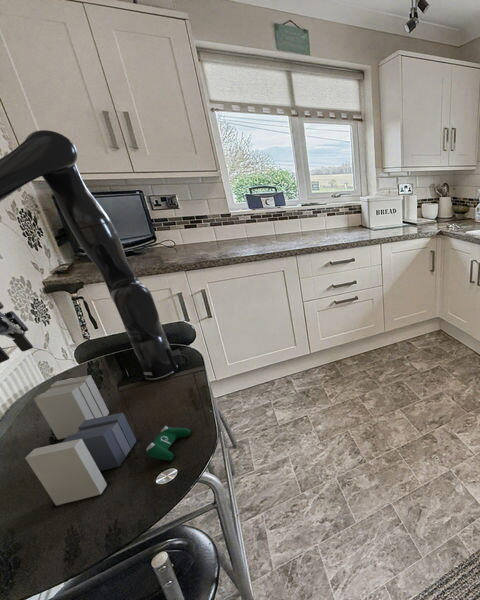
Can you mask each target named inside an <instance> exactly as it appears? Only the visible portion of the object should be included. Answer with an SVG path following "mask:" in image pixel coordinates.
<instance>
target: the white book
mask: <svg viewBox="0 0 480 600" xmlns="http://www.w3.org/2000/svg"><path fill="white" fill-rule="evenodd" d="M62 442H63V441H62ZM62 442H59V443H55V444H50V445H45V446H41V447H36V448H34V449H32V451H30V452H29V453H28V454H27V455H26V457H24V458H25V461H26V462H27V463H28V465H29V466H30V468H31V469H32V471H33V473H34V474H35V476H36V477H37V479H38V480H39V483H41V485H42V487H43V488H44V490H45V491H46V492H47V494H48V496H49V497H50V499H51V500H52V502H53V503H54V505H55V506H61V505H64V504H67V503H68V504H69V503H73V502H76V501H80V500H84V499H88V498H92V497H96V496H100V495H102V494H103V492H104V490H105V489H106V487H107V486H108V483H107V481H106V480H105V478H104V476H103V475H102V473H101V471H99V469H98V467H97V465H96V464H95V462H94V460H93V458H92V456H91V455H90V453H89V451H88V449H87V447H86V446H85V444H84V442H83V440H82V439H77V440H73V441H68V442H63V443H62Z"/></svg>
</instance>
